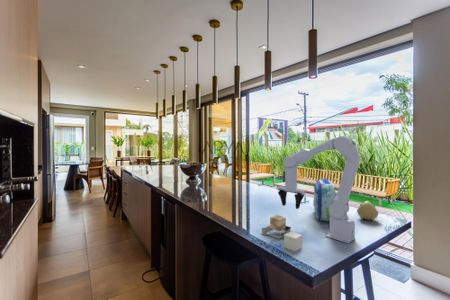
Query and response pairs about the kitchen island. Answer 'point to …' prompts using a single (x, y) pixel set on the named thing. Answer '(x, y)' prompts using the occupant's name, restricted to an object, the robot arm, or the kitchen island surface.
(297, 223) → the kitchen island surface
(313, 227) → the kitchen island surface
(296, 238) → the cream cube
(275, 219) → the oak cube
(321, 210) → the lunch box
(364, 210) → the tan lumpy ball
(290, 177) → the robot arm
